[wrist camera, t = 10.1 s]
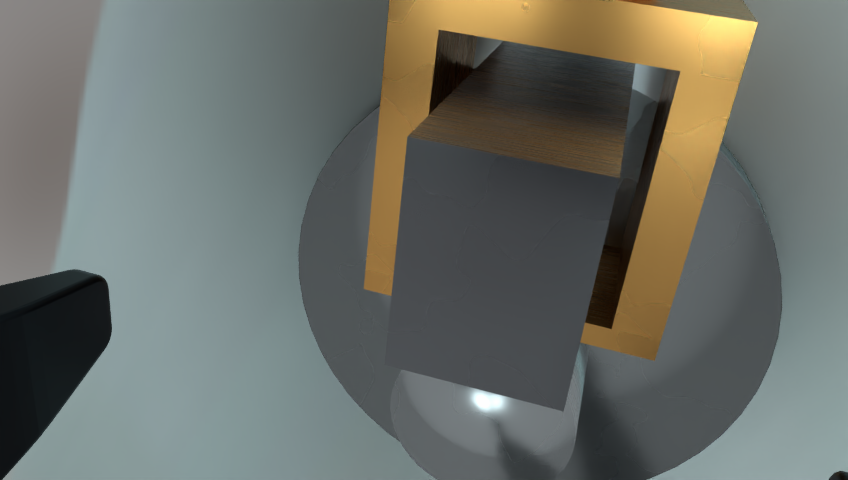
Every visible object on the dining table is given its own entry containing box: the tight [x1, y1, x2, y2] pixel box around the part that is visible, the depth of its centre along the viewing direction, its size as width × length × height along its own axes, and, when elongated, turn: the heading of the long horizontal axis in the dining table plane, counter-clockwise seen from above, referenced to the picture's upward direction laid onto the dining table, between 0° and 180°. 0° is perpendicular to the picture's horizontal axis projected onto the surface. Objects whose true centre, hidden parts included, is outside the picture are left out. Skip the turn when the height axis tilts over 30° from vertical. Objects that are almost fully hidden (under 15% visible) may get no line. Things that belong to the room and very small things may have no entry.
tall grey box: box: [384, 41, 636, 412], centre depth 15 cm, size 4×3×8 cm
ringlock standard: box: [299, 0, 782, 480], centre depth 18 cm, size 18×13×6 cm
